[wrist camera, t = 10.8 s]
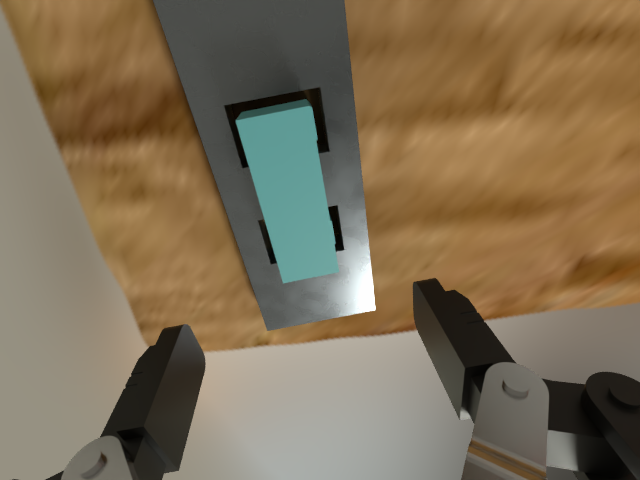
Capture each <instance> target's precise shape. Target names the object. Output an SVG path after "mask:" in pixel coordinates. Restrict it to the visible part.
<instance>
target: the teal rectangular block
mask: <svg viewBox="0 0 640 480" xmlns="http://www.w3.org/2000/svg"><path fill="white" fill-rule="evenodd" d="M236 124H237V128H238V131H239V134H240V138H241V141H242V145H243V148H244V151H245V155H246V158H247V162H248V165H249V168H250V172H251V175H252V179H253V182H254V186H255V189H256V192H257V196H258V199H259V203H260V206H261V209H262V213H263V216H264V220H265V223H266V226H267V230H268V233H269V237H270V240H271V244H272V247H273V250H274V254H275V257H276V261H277V264H278V267H279V271H280V274H281V278H282V281H283V283H288V282H292V281H297V280H302V279H307V278H312V277H317V276H322V275H327V274H332V273H337V272H339V268H338V262H337V256H336V250H335V245H334V244H336V242H335V237H334V231H333V225H332V220H331V216H330V213H329V210H328V205H327V199H326V193H325V188H324V182H323V176H322V171H321V165H320V159H319V154H318V148H317V142H316V140H318V138H317V132H316V127H315V121H314V115H313V109H312V106H311V104H310V102H309V101H307V99H304V100H299V101H294V102H289V103H284V104H279V105H274V106H269V107H264V108H259V109H254V110H249V111H244V112H241V114H240V115H239V117H238V118H237V119H236Z"/></svg>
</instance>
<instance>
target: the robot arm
mask: <svg viewBox="0 0 640 480" xmlns="http://www.w3.org/2000/svg"><path fill="white" fill-rule="evenodd" d="M413 311H414V320H415V324H416V328H417V330H418V333H419V335H420V337H421V339H422V341H423V343H424V345H425V347H426V350H427V352H428V354H429V356H430V358H431V360H432V362H433V364H434V366H435V369H436V371H437V373H438V375H439V377H440V379H441V381H442V383H443V385H444V388H445V390H446V392H447V394H448V396H449V398H450V400H451V403H452V405H453V406H454V409H455V411H456V413H457V415H458V417H459V419H460V420H463V419H468V418H471V419H472V421H473V423H474V429H473V434H472V438H471V442H470V444H469V447H468V451H467V455H466V460H465V465H464V469H463V474H462V478H461V480H548V479H547V478H546V466H552V467H557V468H563V469H569V470H572V471H573V473H574V474H575V476H576V477H577V479H578V480H640V382H638V381H636V380H634V379H632V378H630V377H627V376H625V375H622V374H617V373H612V372H599V373H595V374H593V375H591V376H590V377H589V378H588V380H587V381H586V384H576V383H566V382H558V381H550V380H546V379H542V378H540V377H539V376H538V375H537V374H536V373H535V372H533V371H532V370H530V369H528V368H526V367H524V366H522V365H519V364H517V363H516V362H515V361H514V360H513V359H512V357H511V356H510V355H509V353H508V352H507V351H506V350H505V348H504V347H503V345H502V344H501V343H500V341H499V340H498V339H497V337H496V336H495V335H494V333H493V332H492V330H491V329H490V328H489V326H488V325H487V324H486V323H485V322H484V320H483V318H482V317H481V316H480V314H479V313H477V311H476V309H475V308H474V306H473V305H472V304H471V302H470V301H469V299H468V298H466V297H465V296H463V295H462V294H460V293H459V292H457V291H456V290H451V291H445V290H444V289H443V287H442V286H441V284H440V283H439V281H438V280H437V279H436V278H432V279H427V280H422V281H417V282H414V283H413ZM204 372H205V356H204V353H203V351H202V349H201V347H200V345H199V343H198V341H197V339H196V337H195V335H194V334H193V332H192V330H191V328H190V326H189V325H187V324H184V325H179V326H174V327H168V328H164V329H163V330H162V332H161V334H160V336H159V338H158V340H157V342H156V345H154V346H150V347H149V348H148V349H147V350H146V351H145V353H144V354H143V355H142V356H141V357H140V358H139V359H138V361H137V363H136V365H135V368H134V369H133V371H132V373H131V377H129V379H128V382H127V384H126V388H125V389H124V390H123V392H122V394H121V396H120V398H119V400H118V402H117V404H116V406H115V408H114V410H113V412H112V414H111V416H110V418H109V420H108V422H107V424H106V427H105V428H104V431H103V433H102V434H101V436H100V438H98V439H96V440H94V441H92V442H90V443H89V444H87V445H86V446H85V447H83V448H82V449H81V450H80V451H79V452H78V453H77V454H76V455H75V456H74V457H73V458H72V459H71V461H70V462H69V464H68V465H67V467H66V468H65V470H64V471H62V472H60V473H58V474H56V475H54V476H52V477H50V478H48V479H46V480H162V478H163V474H164V473H169V472H174V471H179V468H180V464H181V460H182V456H183V452H184V448H185V444H186V441H187V437H188V433H189V429H190V426H191V422H192V418H193V414H194V410H195V406H196V402H197V399H198V395H199V391H200V387H201V383H202V379H203V376H204ZM14 480H16V479H14Z"/></svg>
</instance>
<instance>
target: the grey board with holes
mask: <svg viewBox="0 0 640 480" xmlns="http://www.w3.org/2000/svg"><path fill="white" fill-rule="evenodd" d="M153 2H154V5H155V7H156V10H157V13H158V16H159V19H160V22H161V25H162V28H163V31H164V33H165V36H166V39H167V42H168V45H169V48H170V51H171V54H172V56H173V59H174V62H175V65H176V68H177V71H178V74H179V77H180V80H181V82H182V85H183V88H184V91H185V94H186V97H187V100H188V103H189V106H190V108H191V111H192V114H193V117H194V120H195V123H196V126H197V129H198V132H199V134H200V137H201V140H202V143H203V146H204V149H205V152H206V155H207V157H208V160H209V163H210V166H211V169H212V172H213V175H214V178H215V181H216V183H217V186H218V189H219V192H220V195H221V198H222V201H223V204H224V207H225V209H226V212H227V215H228V218H229V221H230V224H231V227H232V230H233V233H234V235H235V238H236V241H237V244H238V247H239V250H240V253H241V256H242V258H243V261H244V264H245V267H246V270H247V273H248V276H249V279H250V282H251V284H252V287H253V290H254V293H255V296H256V299H257V302H258V305H259V308H260V310H261V313H262V316H263V319H264V322H265V325H266V328H267V331H270V330H275V329H280V328H285V327H290V326H295V325H300V324H306V323H311V322H316V321H321V320H326V319H331V318H337V317H342V316H347V315H352V314H357V313H362V312H368V311H373V310H375V300H374V290H373V280H372V270H371V261H370V251H369V241H368V231H367V221H366V211H365V201H364V191H363V181H362V171H361V161H360V151H359V142H358V132H357V122H356V112H355V102H354V92H353V82H352V72H351V62H350V52H349V42H348V33H347V23H346V13H345V3H344V0H153ZM312 88H317V90H318V96H319V103H320V109H321V116H322V122H323V129H324V136H325V142H326V143H322V144H317V148H318V154H319V159H320V165H321V171H322V176H323V182H324V188H325V193H326V199H327V205H328V207H330V206H335V208H336V214H337V221H338V227H339V234H340V235H338V236H334V237H335V242H336V244H334V245H335V250H336V256H337V262H338V268H339V272H337V273H332V274H327V275H322V276H317V277H312V278H307V279H302V280H297V281H292V282H288V283H283V281H282V278H281V274H280V271H279V267H278V264H277V261H276V257H275V254H274V250H273V248H272V247H271V244H270V240H269V237H268V233H267V230H266V226H265V223H264V216H263V213H262V209H261V206H260V203H259V199H258V196H257V192H256V189H255V186H254V182H253V179H252V175H251V172H250V168H249V165H248V162H247V158H246V156H245V153H244V149H243V145H242V142H241V138H240V135H239V131H238V128H237V124H236V121H235V117H234V114H233V110H232V107H231V104H234V103H239V102H244V101H250V100H255V99H260V98H265V97H271V96H276V95H281V94H286V93H292V92H297V91H302V90H307V89H312Z"/></svg>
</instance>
